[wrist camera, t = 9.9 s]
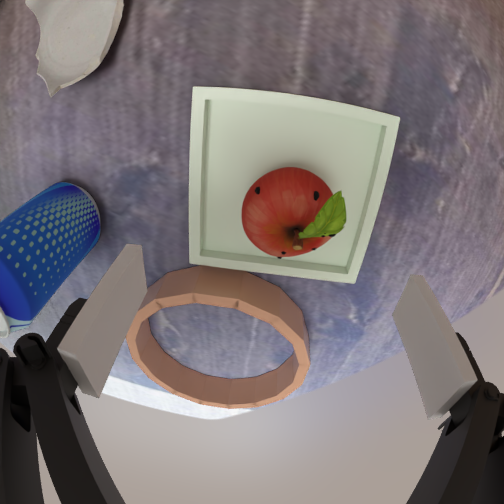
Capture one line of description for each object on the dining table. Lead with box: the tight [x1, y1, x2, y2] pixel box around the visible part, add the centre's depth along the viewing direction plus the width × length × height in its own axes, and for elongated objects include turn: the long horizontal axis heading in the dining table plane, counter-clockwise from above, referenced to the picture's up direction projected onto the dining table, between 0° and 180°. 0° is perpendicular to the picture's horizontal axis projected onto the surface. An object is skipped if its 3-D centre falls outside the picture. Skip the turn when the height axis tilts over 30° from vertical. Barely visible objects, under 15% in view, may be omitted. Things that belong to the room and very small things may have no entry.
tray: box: [189, 86, 400, 284], centre depth 25 cm, size 16×16×2 cm
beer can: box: [0, 182, 100, 338], centre depth 22 cm, size 8×8×16 cm
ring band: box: [126, 265, 310, 409], centre depth 34 cm, size 21×21×4 cm
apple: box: [241, 167, 346, 259], centre depth 21 cm, size 8×7×10 cm
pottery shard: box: [26, 0, 124, 97], centre depth 16 cm, size 10×11×5 cm
